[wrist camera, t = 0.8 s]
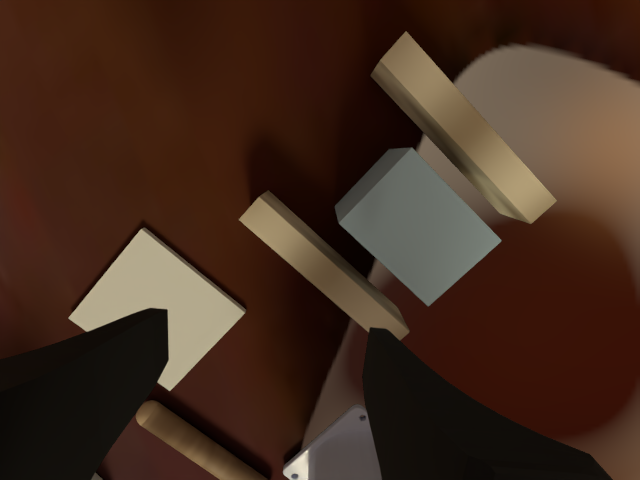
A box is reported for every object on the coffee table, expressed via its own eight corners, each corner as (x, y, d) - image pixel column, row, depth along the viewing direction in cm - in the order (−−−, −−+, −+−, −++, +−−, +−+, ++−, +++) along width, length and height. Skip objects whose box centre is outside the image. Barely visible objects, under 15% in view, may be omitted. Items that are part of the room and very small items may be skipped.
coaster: (246, 310, 21) (245, 312, 21) (172, 386, 23) (169, 391, 22) (144, 227, 20) (141, 228, 19) (72, 315, 21) (68, 318, 21)
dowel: (278, 480, 25) (275, 501, 23) (264, 492, 25) (261, 514, 24) (152, 391, 23) (140, 408, 21) (139, 405, 23) (126, 423, 22)
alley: (521, 193, 19) (556, 200, 16) (379, 323, 21) (389, 350, 19) (391, 51, 17) (406, 31, 14) (250, 209, 20) (238, 219, 17)
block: (457, 219, 20) (501, 240, 15) (403, 270, 21) (428, 306, 16) (388, 149, 19) (411, 147, 14) (334, 206, 20) (338, 223, 15)
